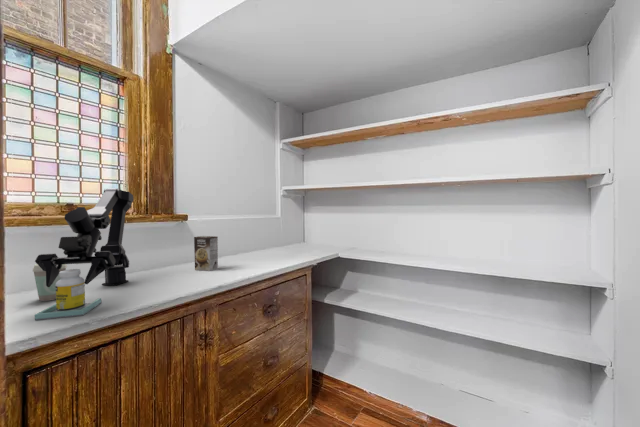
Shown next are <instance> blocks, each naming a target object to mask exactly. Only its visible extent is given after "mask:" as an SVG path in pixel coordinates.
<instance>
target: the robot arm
mask: <svg viewBox="0 0 640 427" xmlns="http://www.w3.org/2000/svg"><path fill="white" fill-rule="evenodd" d="M133 202H134V195H133V194H132V193H131V192H130V191H125V190H122V189H120V188H106V189H104V190H103V193H102V195H101V197H100V198H99V199H98V201H97V203H96V204H95V205H94V207H92V208H90V209H86V207H85V206H77V207H76V209H73V210H70V211H68V212H67V213H66V214H65V215H64V217H63V218H64V220H65V221H66V223H67V224H68V226H69V228H70V229H71V231H72V233H75V234H77V235H76V236H62V237H60V238H59V243H58V249H61V250H63V253H62V254H64V255H65V256H64V257H62V256H61V257H59V256H58V255H57V254H56V253H41V254H38V255H37V257H36V258H35V261H34V262H35V263H36V264H38V265H39V266H40V268H41V269H42V270H43V271H46V286H47V287H50V286H51V285H52V284H53V282H54V281H55V279H56V277H57V276H58V274H59V272H60V271H59V269H61V267H62V264H66V265H72V264H74V265H85V264H86V265H87V264H91V266H90V268H89V271H88V272H87V275H86V276H85V279H84V281H85V285H88V284H90V283H91V282H92V281H93V280H95V278H97V277H98V276H100V275H101V274H102V273H103V272H104V282H103V283H101V285H102V286H118V285H121V284H125V283H127V282H129V279H127V275H126V274H127V273H126V272H127V271H126V268H128V269H129V268H130V260H129V258H128V256H127V254H126V249H125V248H124V247H123V244H122V242H123V237H124V230H125V222H126V214H127V212H128V211H129V210H130V209H131V208H132V204H133ZM110 213H111V217H110V216H109V215H110ZM108 227H109V229H108V237H107V243H105V245H102V246H100V250H99V251H97V249H96V247H97V244H98V241H102V235H101V234H102V232H101V231H100V230H105V229H107V228H108ZM93 254H94V255H93Z"/></svg>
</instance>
